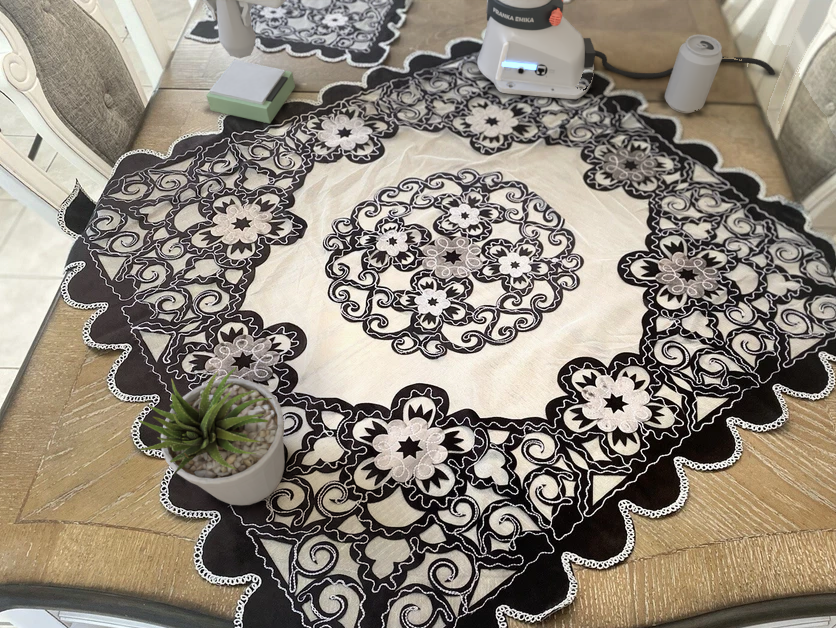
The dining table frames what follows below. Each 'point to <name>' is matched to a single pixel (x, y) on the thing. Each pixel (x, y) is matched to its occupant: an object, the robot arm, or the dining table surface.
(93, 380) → the dining table surface
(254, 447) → the potted plant
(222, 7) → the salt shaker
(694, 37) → the can
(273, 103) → the kitchen scale
